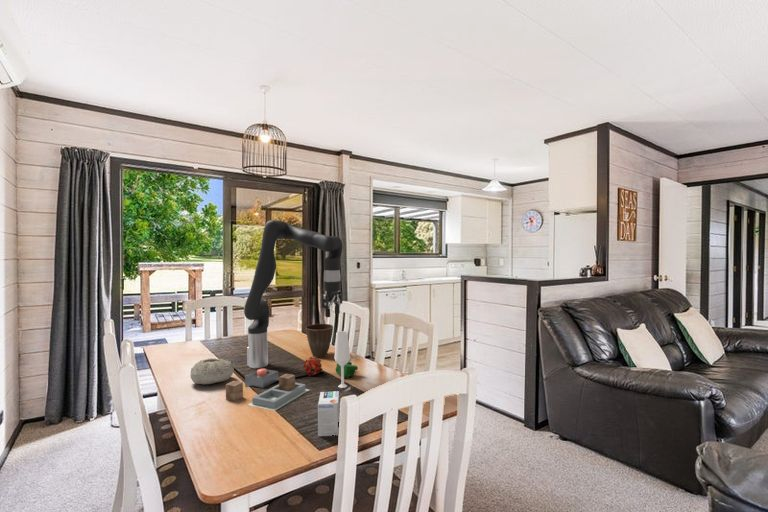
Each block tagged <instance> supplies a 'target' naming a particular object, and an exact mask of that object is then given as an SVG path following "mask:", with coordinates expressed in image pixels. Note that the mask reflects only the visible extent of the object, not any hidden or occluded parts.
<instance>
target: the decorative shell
mask: <svg viewBox="0 0 768 512" xmlns="http://www.w3.org/2000/svg"><path fill="white" fill-rule="evenodd" d="M234 369H235V368H234V365H233V363H231V362H230V361H229V360H228V359H224V358H216V357H215V358H206V359H201V360H199V361H198V362H196V363H195V364H194V365H193V366H192V367H191V369H190V379H191V382H193V383H194V384H197V385H205V386H206V385H212V384H216V383H217V384H218V383H222V382H226V381H228V380H229V379H230V378H231V377H232V376H233V373H234Z"/></svg>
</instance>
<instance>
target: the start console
mask: <svg viewBox="0 0 768 512" xmlns="http://www.w3.org/2000/svg"><path fill="white" fill-rule="evenodd" d="M257 370H258V369H257ZM257 370H254V371H252V372H250V373H248V374H245V375H244V387H245V388H249V387H256V388H261V389H264V388H266V387H268V386H271V385H272V384H274V383H276V382H279V377H280V376H279V371H278V370H272V369H267V374H266V375H263V376H260V375H257Z"/></svg>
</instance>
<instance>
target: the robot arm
mask: <svg viewBox="0 0 768 512" xmlns="http://www.w3.org/2000/svg"><path fill="white" fill-rule="evenodd" d="M262 233H263V234H262V238H261V239H262V240H261V246H260V251H259V254H258V260H257V263H256V267H255V270H254V271H255V272H254V275H253V279H252V284H251V287H250V291H249V294H248V296H247V299H246V301H245V304H244V308H243V314H244V317H245V318H246V319H247V320H249V321H253V322H252V323H251V324H250V325H249V326H248V328H247V337H248V338H247V339H248V343H247V344H248V346H247V347H246V360H247V361H246V363H247V367H249V368H251V369H263V368H265V367H267V366H268V365H269V356H268V355H269V353H268V351H269V349H268V343H269V342H268V327H269V323H270V308H269V304H268V302H267V301H266V300H264V299H262V298H263V295H264V293H265V292H266V290H267V289H268V288H269V286H271V284H272V282H273V280H274V278H275V274H276V272H277V271H276V270H277V260H276V256H275V245H276V243H277V240H294V241H297V242H298V243H300V244H302V245H306V246H308V247H313V248H316V249H318V250H320V251H322V252H327V253H328V255H327V257H325V258H324V261H323V262H324V263H323V264H324V266H323V268H324V269H323V270H324V272H323V291H325V294H321V308H322V309H324V313H325V314H324V316H325V318H331V306H332V305H334V314H336V315H339V314H340V311H341V310H340V308H341V307H340V306H341V304H343V292H342V291H341V268H340V267H341V264H340V263H341V258H342V257H341V256H342V252H343V242H342V239H341V238H340V237H339V236H335V235H332V236H331V235H325V234H322V233H320V232H318V231H313V230H310V229H309V230H308V229H304V228H300V227H297V226H294V225H292V224H290V223H288V222H286V221H283V220H276V219H272V220H267V222H266V223H265V224H264V227H263V232H262Z"/></svg>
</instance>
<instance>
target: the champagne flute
mask: <svg viewBox="0 0 768 512" xmlns="http://www.w3.org/2000/svg"><path fill="white" fill-rule="evenodd" d="M349 343H350V342H349V334H348V331H346V330H345V331H344V330H343V331H341V330H340V331H337V332H336V333H335V344H334V345H335V347H334V356H333V357H334V360H335V363H336V364H337V363H338V364H339V365H340V366H341V375H340V378H341V380H340V381H341V383H340V384H339V385H338V386H337V387H338V388H340V389H343V388H345V389H344V390H343V392H347V391H349V390H351V386H348V385H347V384H346V383H345V378H344V365H346V364H347V363H348V362H350V360H351V352H350V344H349Z"/></svg>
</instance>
